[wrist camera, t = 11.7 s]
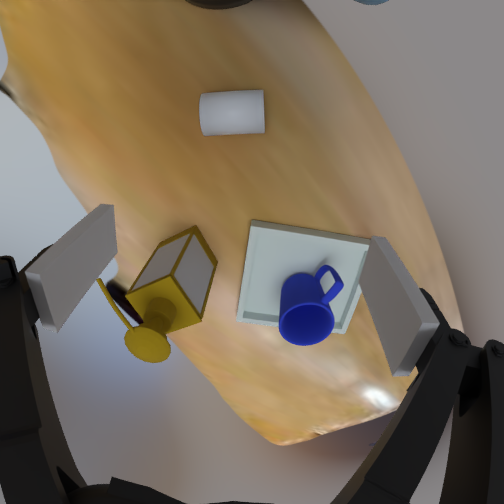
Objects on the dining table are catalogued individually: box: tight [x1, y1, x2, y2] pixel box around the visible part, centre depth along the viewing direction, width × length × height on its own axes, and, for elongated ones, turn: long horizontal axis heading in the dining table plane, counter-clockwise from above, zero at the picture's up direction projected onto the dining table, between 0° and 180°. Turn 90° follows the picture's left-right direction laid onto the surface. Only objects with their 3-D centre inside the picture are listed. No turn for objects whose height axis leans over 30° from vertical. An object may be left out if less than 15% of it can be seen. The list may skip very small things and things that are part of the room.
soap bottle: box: [96, 225, 218, 363], centre depth 40 cm, size 7×13×24 cm, turn 26°
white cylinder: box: [199, 90, 265, 136], centre depth 39 cm, size 6×6×8 cm
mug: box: [279, 265, 344, 346], centre depth 48 cm, size 8×12×10 cm
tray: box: [236, 220, 371, 334], centre depth 52 cm, size 18×20×3 cm
